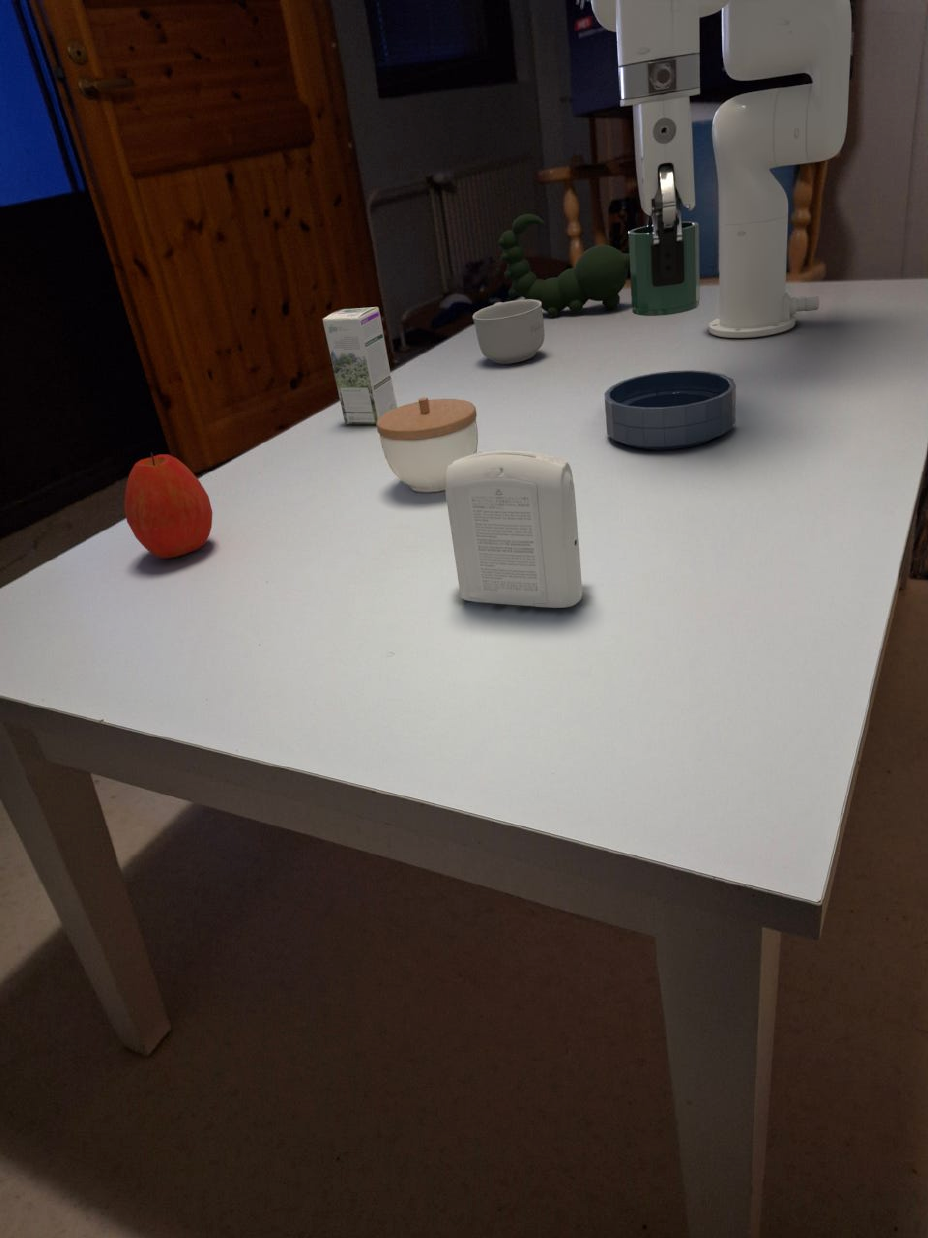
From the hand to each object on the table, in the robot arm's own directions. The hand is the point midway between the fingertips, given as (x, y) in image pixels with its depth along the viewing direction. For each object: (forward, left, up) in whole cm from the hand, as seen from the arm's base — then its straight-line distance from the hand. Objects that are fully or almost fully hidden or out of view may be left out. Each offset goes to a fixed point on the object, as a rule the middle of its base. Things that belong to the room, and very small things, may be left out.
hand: (665, 276), depth 94 cm
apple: (+51, +22, -17) cm, 58 cm away
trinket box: (+26, +9, -17) cm, 32 cm away
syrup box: (+39, -18, -17) cm, 46 cm away
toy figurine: (+11, -72, -17) cm, 75 cm away
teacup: (+21, -44, -17) cm, 52 cm away
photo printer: (+15, +37, -17) cm, 43 cm away
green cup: (0, 0, -3) cm, 3 cm away
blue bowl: (0, 0, -17) cm, 17 cm away
